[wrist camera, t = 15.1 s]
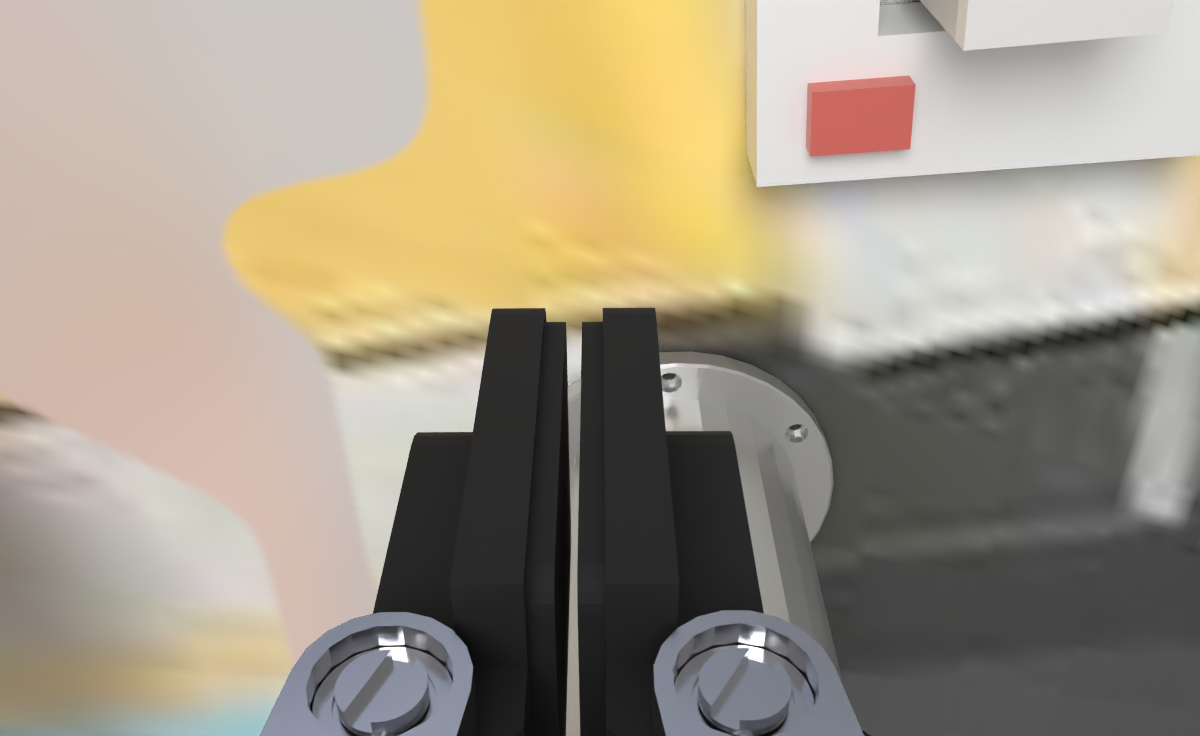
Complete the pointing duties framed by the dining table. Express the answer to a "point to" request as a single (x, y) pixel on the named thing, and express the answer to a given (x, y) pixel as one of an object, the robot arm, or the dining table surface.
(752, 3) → the socket plate
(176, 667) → the dining table surface
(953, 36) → the plug
